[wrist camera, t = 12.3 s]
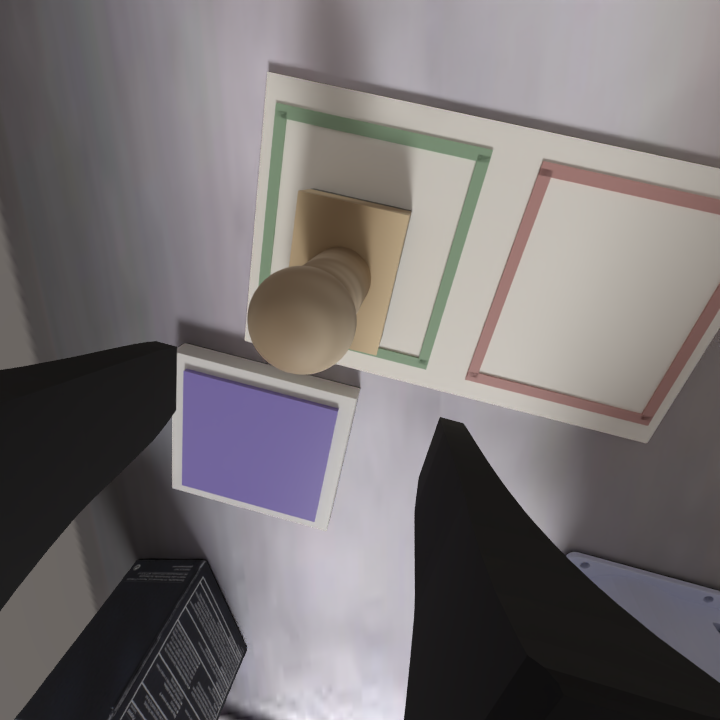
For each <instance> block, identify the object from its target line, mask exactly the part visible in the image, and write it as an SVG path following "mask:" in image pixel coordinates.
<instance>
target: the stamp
mask: <svg viewBox="0 0 720 720" xmlns="http://www.w3.org/2000/svg"><path fill="white" fill-rule="evenodd" d="M411 213H412V210H408V209H403V208H399V207H395V206H390V205H386V204H381V203H377V202H372V201H368V200H363V199H359V198H355V197H350V196H346V195H341V194H337V193H332V192H328V191H323V190H319V189H306V190H299V191H298V196H297V204H296V212H295V220H294V229H293V237H292V245H291V254H290V262H289V267H287V268H284V269H281V270H279V271H277V272H275V273H273V274H271V275H270V276H269V277H268V278H266V279H265V280H264V281H263V282H262V283H261V284H260V285H259V286H258V288H257V289H256V291H255V293H254V294H253V296H252V299H251V301H250V304H249V308H248V314H247V324H248V331H249V335H250V338H251V341H252V343H253V345H254V347H255V348H256V350H257V351H258V353H259V354H260V355H261V356H262V357H263V358H264V359H265V360H266V361H267V362H268V363H270V364H271V365H272V366H274V367H276V368H277V369H279V370H282V371H284V372H287V373H292V374H300V375H306V374H314V373H318V372H321V371H324V370H326V369H328V368H330V367H331V366H333V365H334V364H336V363H337V362H338V361H339V360H340V359H342V357H343V356H344V355H345V354H346V352H347V351H348V349H351V350H355V351H359V352H363V353H367V354H371V355H375V356H376V355H377V352H378V348H379V345H380V342H381V339H382V335H383V331H384V327H385V323H386V319H387V314H388V310H389V306H390V302H391V298H392V293H393V289H394V285H395V281H396V277H397V272H398V268H399V264H400V260H401V255H402V251H403V247H404V243H405V239H406V234H407V230H408V226H409V222H410V218H411Z"/></svg>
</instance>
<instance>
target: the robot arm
mask: <svg viewBox="0 0 720 720" xmlns="http://www.w3.org/2000/svg"><path fill="white" fill-rule="evenodd" d="M176 388H177V347H175V346H172V345H168V344H164V343H160V342H157V341H154V342H145V343H138V344H133V345H128V346H123V347H118V348H113V349H108V350H104V351H99V352H94V353H90V354H85V355H81V356H76V357H71V358H66V359H61V360H55V361H50V362H45V363H39V364H34V365H29V366H24V367H17V368H12V369H5V370H0V611H1V609H2V608H3V607H4V605H5V604H6V603H7V601H8V600H9V599H10V597H11V596H12V595H13V593H14V592H15V591H16V589H17V588H18V586H19V585H20V584H21V583H22V582H23V580H24V579H25V578H26V577H27V575H28V574H29V573H30V572H31V570H32V569H33V568H34V567H35V565H36V564H37V563H38V562H39V560H40V559H41V558H42V557H43V555H44V554H45V553H46V552H47V550H48V549H49V548H50V547H51V546H52V544H53V543H54V542H55V541H56V540H57V539H58V537H59V536H60V535H61V534H62V533H63V531H64V530H65V529H66V528H67V527H68V526H69V524H70V523H71V522H72V521H73V520H74V518H75V517H76V516H77V515H78V514H79V513H80V512H81V511H82V510H83V509H84V508H85V507H86V506H87V505H88V503H89V502H90V501H91V500H92V499H93V498H94V497H95V496H97V495H98V494H99V493H100V492H101V491H102V490H103V489H104V488H105V487H106V486H107V485H108V484H109V483H110V482H111V481H112V480H113V479H114V478H115V477H116V476H117V475H118V474H119V473H120V472H121V471H122V470H123V469H124V468H125V467H127V466H128V465H129V464H130V463H131V462H132V461H133V460H134V459H135V458H136V457H137V456H138V455H139V454H140V453H141V452H142V451H143V450H144V449H145V448H146V447H147V446H148V445H149V444H150V443H151V442H152V441H153V440H154V439H155V438H156V436H157V435H158V434H159V433H160V431H161V430H162V429H163V428H164V426H165V425H166V424H167V422H168V421H169V420H170V418H171V417H172V415H173V414H174V413H175V411H176ZM583 562H585V563H583ZM404 720H720V591H718V590H714V589H710V588H707V587H703V586H699V585H696V584H692V583H688V582H685V581H681V580H677V579H674V578H670V577H667V576H663V575H659V574H656V573H652V572H648V571H645V570H641V569H637V568H634V567H630V566H626V565H623V564H619V563H615V562H612V561H608V560H604V559H601V558H597V557H593V556H590V555H586V554H583V553H579V552H571V553H568V554H567V555H566V556H565V555H564V554H563V553H562V552H561V551H560V550H559V549H558V548H557V547H556V546H555V545H554V544H553V543H552V541H551V540H550V539H549V538H548V537H547V536H546V535H545V534H544V533H543V532H542V530H541V529H540V528H539V527H538V526H537V525H536V524H535V523H534V522H533V521H532V519H531V518H530V517H529V516H528V515H527V513H526V512H525V511H524V510H523V509H522V507H521V506H520V505H519V504H518V502H517V501H516V500H515V498H514V497H513V496H512V495H511V493H510V492H509V491H508V489H507V488H506V487H505V485H504V484H503V483H502V481H501V480H500V478H499V477H498V476H497V474H496V473H495V471H494V470H493V468H492V467H491V465H490V464H489V463H488V461H487V459H486V458H485V456H484V455H483V453H482V452H481V450H480V449H479V447H478V446H477V444H476V442H475V441H474V439H473V438H472V436H471V434H470V433H469V431H468V430H467V428H466V427H465V425H464V424H463V423H460V422H456V421H453V420H449V419H445V418H441V417H440V418H439V421H438V424H437V427H436V430H435V433H434V436H433V438H432V441H431V444H430V447H429V450H428V453H427V456H426V459H425V461H424V464H423V467H422V470H421V473H420V476H419V480H418V488H417V496H416V504H415V609H414V624H413V635H412V646H411V657H410V667H409V677H408V687H407V697H406V706H405V716H404Z"/></svg>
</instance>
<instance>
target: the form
mask: <svg viewBox="0 0 720 720" xmlns="http://www.w3.org/2000/svg"><path fill="white" fill-rule="evenodd" d="M306 189H319V190H323V191H328V192H332V193H337V194H341V195H346V196H350V197H355V198H359V199H363V200H368V201H372V202H377V203H381V204H386V205H390V206H395V207H399V208H403V209H408V210H412V213H411V218H410V222H409V226H408V230H407V234H406V239H405V243H404V247H403V251H402V255H401V260H400V264H399V268H398V272H397V277H396V281H395V285H394V289H393V293H392V298H391V302H390V306H389V310H388V314H387V319H386V323H385V327H384V331H383V335H382V339H381V342H380V345H379V348H378V352H377V355H376V356H375V355H371V354H367V353H363V352H359V351H355V350H351V349H348V351H347V352H346V354H345V355H344V356H343V357H342V359H340V360H339V361H338V362H337V363H336V364H337V365H341V366H345V367H349V368H353V369H357V370H361V371H365V372H368V373H372V374H376V375H380V376H384V377H388V378H392V379H396V380H400V381H404V382H408V383H411V384H415V385H419V386H423V387H427V388H431V389H435V390H439V391H443V392H447V393H451V394H454V395H458V396H462V397H466V398H470V399H474V400H478V401H482V402H486V403H490V404H494V405H498V406H501V407H505V408H509V409H513V410H517V411H521V412H525V413H529V414H533V415H537V416H541V417H544V418H548V419H552V420H556V421H560V422H564V423H568V424H572V425H576V426H580V427H584V428H587V429H591V430H595V431H599V432H603V433H607V434H611V435H615V436H619V437H623V438H627V439H630V440H634V441H638V442H642V443H646V444H647V443H648V441H649V440H650V438H651V437H652V435H653V433H654V432H655V430H656V429H657V427H658V425H659V424H660V422H661V421H662V419H663V417H664V416H665V414H666V413H667V411H668V409H669V408H670V406H671V405H672V403H673V402H674V400H675V398H676V397H677V395H678V394H679V392H680V390H681V389H682V387H683V386H684V384H685V382H686V381H687V379H688V378H689V376H690V374H691V373H692V371H693V370H694V368H695V366H696V365H697V363H698V362H699V360H700V358H701V357H702V355H703V354H704V352H705V350H706V349H707V347H708V346H709V344H710V342H711V341H712V339H713V338H714V336H715V335H716V333H717V331H718V330H719V328H720V169H719V168H714V167H710V166H705V165H700V164H696V163H691V162H686V161H682V160H677V159H672V158H668V157H663V156H658V155H654V154H649V153H644V152H640V151H635V150H630V149H626V148H621V147H616V146H612V145H607V144H602V143H598V142H593V141H588V140H584V139H579V138H575V137H570V136H565V135H561V134H556V133H551V132H547V131H542V130H537V129H533V128H528V127H523V126H519V125H514V124H509V123H505V122H500V121H495V120H491V119H486V118H481V117H477V116H472V115H467V114H463V113H458V112H453V111H449V110H444V109H439V108H435V107H430V106H425V105H421V104H416V103H411V102H407V101H402V100H397V99H393V98H388V97H383V96H379V95H374V94H369V93H365V92H360V91H355V90H351V89H346V88H341V87H337V86H332V85H327V84H323V83H318V82H313V81H309V80H304V79H300V78H295V77H290V76H286V75H281V74H276V73H272V72H267V84H266V95H265V107H264V119H263V131H262V142H261V154H260V166H259V178H258V189H257V201H256V213H255V225H254V236H253V248H252V260H251V272H250V283H249V295H248V307H247V314H248V308H249V304H250V301H251V299H252V296H253V294H254V293H255V291H256V289H257V288H258V286H259V285H260V284H261V283H262V282H263V281H264V280H265V279H266V278H268V277H269V276H270V275H271V274H273V273H275V272H277V271H279V270H281V269H284V268H287V267H289V262H290V254H291V245H292V237H293V229H294V220H295V212H296V204H297V196H298V191H299V190H306ZM245 341H247V342H251V343H252V341H251V338H250V335H249V331H248V324H247V319H246V330H245Z"/></svg>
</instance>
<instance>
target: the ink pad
mask: <svg viewBox="0 0 720 720" xmlns="http://www.w3.org/2000/svg"><path fill="white" fill-rule="evenodd" d="M359 393H360V388H357V387H353V386H349V385H345V384H342V383H338V382H334V381H330V380H326V379H322V378H318V377H314V376H311V375H307V374H306V375H300V374H292V373H287V372H284V371H282V370H279V369H277V368H276V367H274V366H272V365H268V364H264V363H260V362H256V361H253V360H249V359H245V358H241V357H237V356H233V355H229V354H225V353H222V352H218V351H214V350H210V349H206V348H202V347H198V346H194V345H191V344H187V343H184V344H182V345H181V346H180V347H178V348H177V388H176V411H175V413H174V414H173V415H172V488H174V489H177V490H181V491H185V492H188V493H192V494H195V495H199V496H202V497H206V498H209V499H213V500H217V501H220V502H224V503H227V504H231V505H234V506H238V507H242V508H245V509H249V510H252V511H256V512H259V513H263V514H266V515H270V516H274V517H277V518H281V519H284V520H288V521H291V522H295V523H298V524H302V525H306V526H309V527H313V528H316V529H320V530H323V531H327V527H328V524H329V521H330V517H331V513H332V509H333V505H334V500H335V496H336V492H337V487H338V483H339V479H340V474H341V470H342V466H343V462H344V457H345V453H346V449H347V444H348V440H349V436H350V431H351V427H352V423H353V419H354V414H355V410H356V406H357V401H358V397H359Z"/></svg>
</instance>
